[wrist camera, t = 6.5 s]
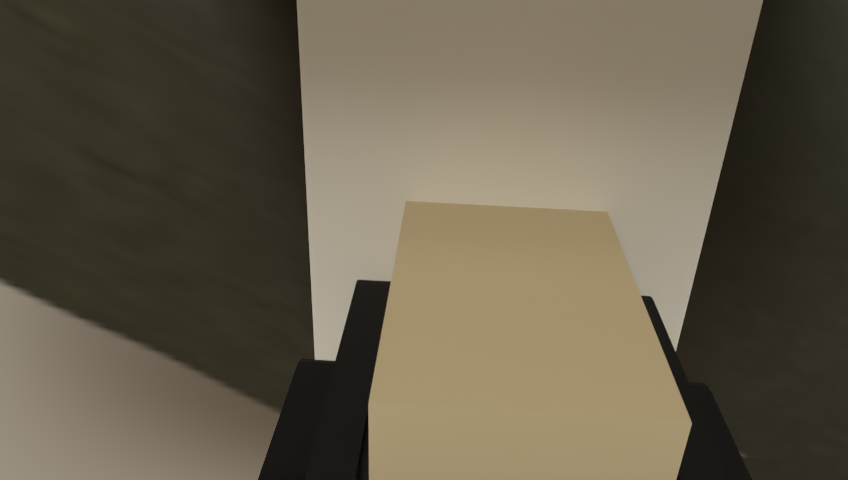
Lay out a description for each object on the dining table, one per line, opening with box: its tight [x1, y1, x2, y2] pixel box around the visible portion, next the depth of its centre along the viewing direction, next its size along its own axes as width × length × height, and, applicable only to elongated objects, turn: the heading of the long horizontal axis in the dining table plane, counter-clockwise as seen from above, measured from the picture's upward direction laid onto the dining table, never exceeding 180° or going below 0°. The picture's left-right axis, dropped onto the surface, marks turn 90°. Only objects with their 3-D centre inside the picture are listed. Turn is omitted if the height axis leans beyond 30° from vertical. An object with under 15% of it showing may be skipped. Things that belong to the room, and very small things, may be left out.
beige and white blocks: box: [297, 0, 763, 480], centre depth 12 cm, size 6×10×12 cm, turn 178°
